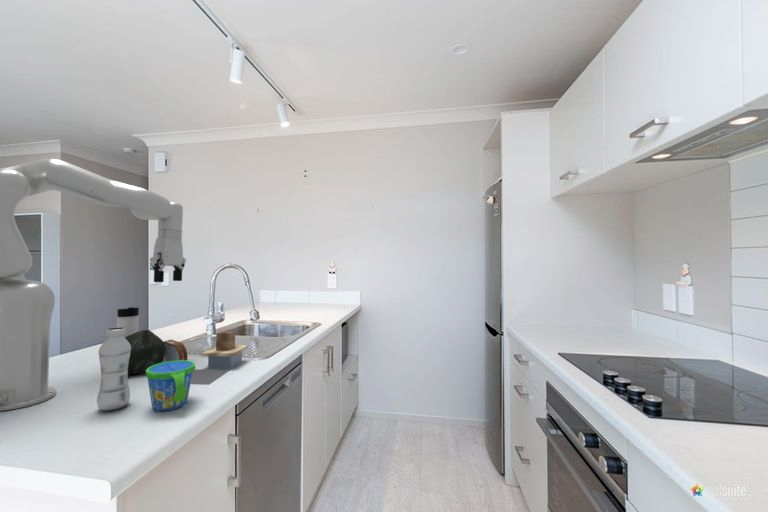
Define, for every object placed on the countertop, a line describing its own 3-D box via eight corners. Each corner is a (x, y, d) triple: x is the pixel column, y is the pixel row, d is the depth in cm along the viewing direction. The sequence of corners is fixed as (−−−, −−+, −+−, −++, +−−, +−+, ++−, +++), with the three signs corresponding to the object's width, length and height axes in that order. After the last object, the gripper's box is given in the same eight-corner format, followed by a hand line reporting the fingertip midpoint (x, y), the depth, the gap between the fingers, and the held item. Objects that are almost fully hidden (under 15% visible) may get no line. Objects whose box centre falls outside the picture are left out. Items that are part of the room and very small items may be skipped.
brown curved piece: (188, 367, 113) (188, 343, 113) (178, 370, 110) (179, 345, 110) (167, 360, 121) (167, 337, 121) (157, 362, 118) (158, 339, 118)
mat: (208, 385, 96) (209, 384, 97) (165, 385, 97) (166, 383, 97) (230, 371, 110) (230, 370, 110) (192, 370, 110) (192, 369, 110)
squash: (109, 353, 110) (112, 324, 103) (162, 347, 120) (168, 321, 113) (107, 390, 102) (110, 362, 95) (164, 381, 111) (171, 355, 104)
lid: (201, 355, 110) (201, 335, 110) (218, 347, 121) (218, 328, 121) (233, 356, 109) (233, 335, 110) (247, 347, 120) (248, 329, 121)
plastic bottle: (102, 416, 77) (105, 332, 77) (92, 409, 80) (94, 328, 81) (134, 406, 82) (136, 327, 83) (123, 400, 86) (125, 324, 86)
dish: (231, 369, 111) (231, 355, 111) (208, 369, 111) (208, 354, 111) (241, 362, 119) (241, 348, 119) (220, 362, 119) (220, 348, 119)
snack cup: (200, 410, 81) (201, 369, 81) (149, 424, 74) (150, 379, 74) (186, 391, 92) (187, 355, 93) (141, 401, 85) (142, 362, 85)
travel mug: (118, 365, 114) (120, 308, 115) (113, 361, 118) (115, 306, 119) (140, 361, 119) (141, 306, 120) (134, 357, 123) (135, 305, 124)
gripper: (176, 237, 130) (174, 280, 129) (141, 233, 112) (140, 282, 112) (194, 237, 129) (192, 280, 129) (162, 233, 112) (160, 282, 111)
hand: (168, 281), depth 120 cm, fingers open, 9 cm apart
